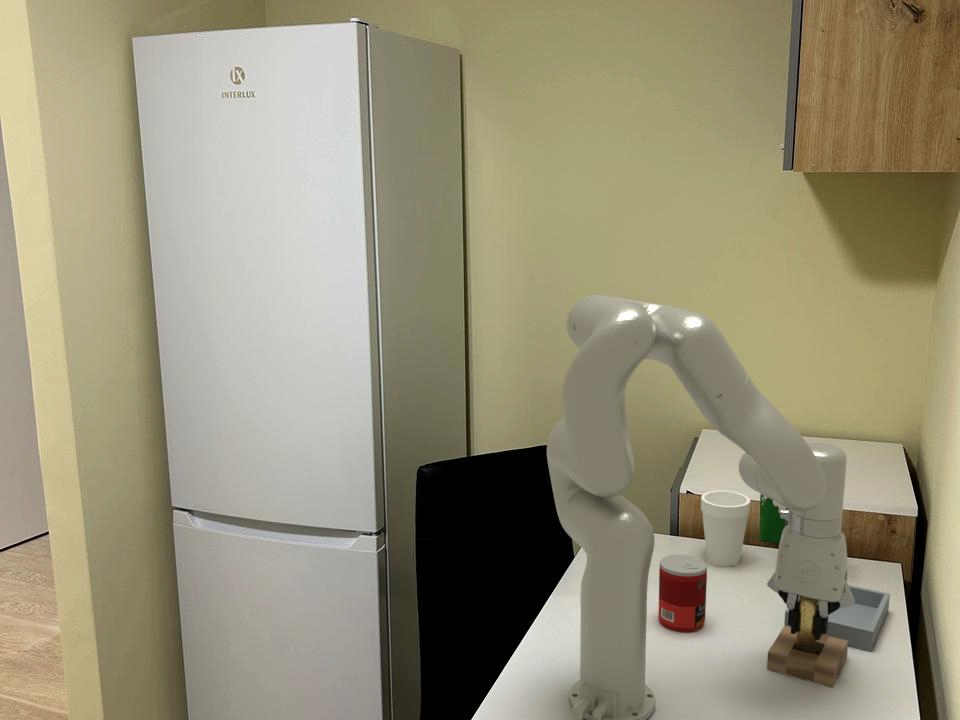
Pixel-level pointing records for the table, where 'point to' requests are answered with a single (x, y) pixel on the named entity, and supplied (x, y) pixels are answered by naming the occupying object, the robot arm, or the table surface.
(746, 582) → the table surface
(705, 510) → the foam cup
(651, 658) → the table surface
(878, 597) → the pin tray
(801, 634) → the pin
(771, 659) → the pin bracket
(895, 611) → the table surface
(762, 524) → the milk carton
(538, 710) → the table surface
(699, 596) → the canned food
